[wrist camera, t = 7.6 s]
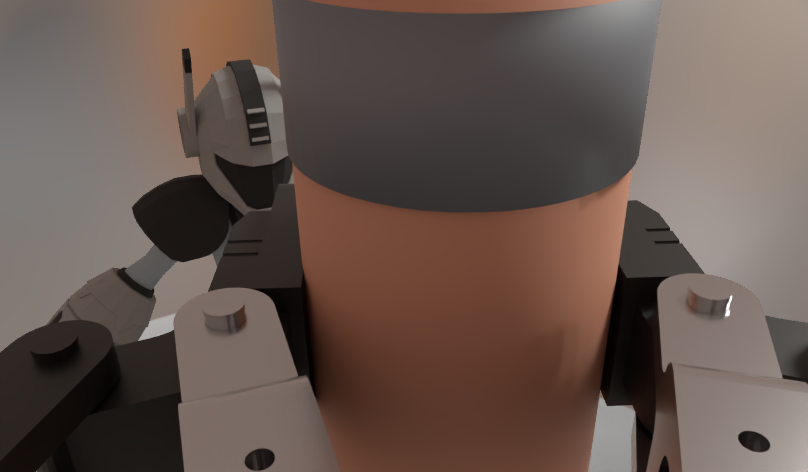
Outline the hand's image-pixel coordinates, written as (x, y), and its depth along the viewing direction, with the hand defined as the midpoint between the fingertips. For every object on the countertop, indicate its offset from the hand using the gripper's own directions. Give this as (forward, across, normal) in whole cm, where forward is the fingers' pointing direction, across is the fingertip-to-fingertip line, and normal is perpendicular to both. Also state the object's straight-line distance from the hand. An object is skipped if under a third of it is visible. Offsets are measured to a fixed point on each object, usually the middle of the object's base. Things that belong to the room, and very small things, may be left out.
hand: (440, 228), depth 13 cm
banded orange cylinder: (-3, 0, +8) cm, 8 cm away
